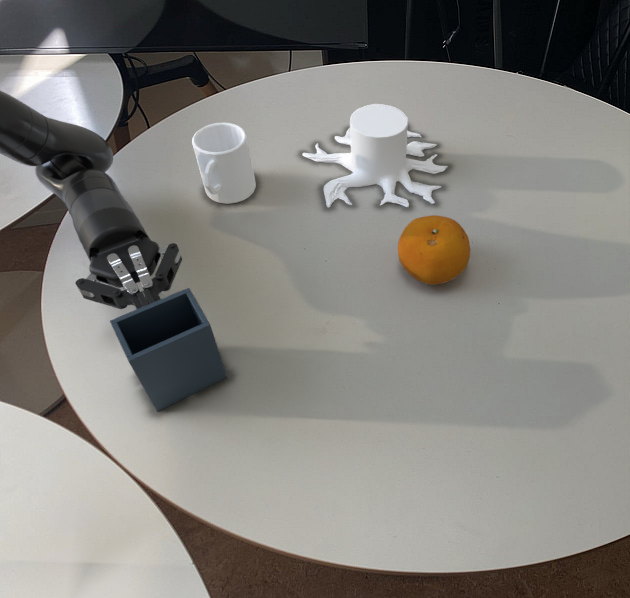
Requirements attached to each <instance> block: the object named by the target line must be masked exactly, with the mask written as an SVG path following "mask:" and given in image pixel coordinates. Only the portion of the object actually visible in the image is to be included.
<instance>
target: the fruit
mask: <svg viewBox="0 0 630 598" xmlns="http://www.w3.org/2000/svg"><path fill="white" fill-rule="evenodd" d="M397 255H398V259H399V262H400V264H401V266H402V267H403V269H404V270H405V271H406V273H408V274H409V276H411V278H413V279H415V280H417V281H418V282H420V283H423V284H426V285H434V286H435V285H442V284H444V283H447V282H451V281H452V280H453V279H455V278H457V277H459V276H460V275H461V274H462V273H463V272H464V271H465V269H466V268H467V266H468V264H469V261H470V257H471V243H470V238H469V236H468V234H467V232H466V231H465V229H464V227H462V225H461V224H460V223H459V222H458V221H457V220H455V219H453V218H450V217H447V216H443V215H437V214H435V215H434V214H433V215H424V216H420V217H416V218H415V219H413V220H411V221H410V222H409V223H408V224H407V225H406V226H405V227H404V228H403V231H402V232H401V234H400V237H399V239H398V244H397Z"/></svg>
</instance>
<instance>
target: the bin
mask: <svg viewBox="0 0 630 598" xmlns="http://www.w3.org/2000/svg"><path fill="white" fill-rule="evenodd" d="M109 323H110V325H111V327H112V330H113V331H114V334H115V336H116V337H117V340H118V342H119V344H120V347H121V348H122V351H123V353H124V354H125V358H126V359H127V362H128V363H129V365H130V367H131V369H132V371H133V372H134V374H135V376H136V377H137V380H138V381H139V383H140V384H141V386H142V388H143V389H144V392H145V393H146V395H147V397H148V398H149V400H150V402H151V404H152V406H153V407H154V409H155V412H157V413H159V412H160V411H162V410H164V409H166V408H168V407H170V406H172V405H174V404H176V403H178V402H180V401H182V400H184V399H186V398H189V397H190V396H193V395H195V394H197V393H200V392H201V391H203V390H205V389H207V388H209V387H211V386H213V385H215V384H217V383H220V382H221V381H223V380H226V379H227V378H228V376H227V372H226V369H225V367H224V363H223V360H222V357H221V353H220V350H219V347H218V345H217V341H216V338H215V335H214V332H213V329H212V325H211V324H210V321H209V320H208V318H207V316H206V315H205V312H204V311H203V309H202V308H201V306H200V304H199V302H198V301H197V299H196V297H195V295H194V294H193V292H192V290H191V287H186V288H185V289H182V290H180V291H176V292H175V293H173V294H170V295H168V296H165V297H163V298H161V300H158V301H156V302H153V303H151V304H149V305H146V306H144V307H141V308H139V309H134V310H132V311H130V312H127V313H125V314H122V315H120V316H118V317H115V318H113V319H111V320H109Z"/></svg>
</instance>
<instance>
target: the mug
mask: <svg viewBox="0 0 630 598" xmlns="http://www.w3.org/2000/svg"><path fill="white" fill-rule="evenodd" d="M247 136H248V135H247V132H246V131H245V129H244V128H243V127H241V126H239V125H238V124H234V123H231V122H214V123H210V124H207V125H205V126H203V127H201V128H200V129H199V130H197V131H196V132H195V133H194V135H193V136H192V138H191V144H192V147H193V151H194V156H195V158H196V162H197V167H198V169H199V173H200V176H201V180H202V181H201V182H202V184H203V188H204V192H205V194H206V195H207V197H208V198H209V199H210V200H212V201H213V202H216V203H219V204H227V205H228V204H229V205H230V204H237V203H240V202H243V201H245V200H246V199H249V198H250V197H251V196H252V195H253V194H254V192H255V190H256V187H257V184H256V183H257V181H256V178H255V177H256V176H255V172H254V167H253V161H252V157H251V156H252V155H251V151H250V146H249V140H248V137H247Z"/></svg>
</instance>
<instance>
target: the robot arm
mask: <svg viewBox="0 0 630 598" xmlns="http://www.w3.org/2000/svg"><path fill="white" fill-rule="evenodd" d="M0 155H2V156H4V157H6V158H8V159H10V160H12V161H14V162H16V163H18V164H20V165H23V166H28V167H35V168H34V172H35V175H36V178H37V180H38V181H39V183H40V184H41V185H43V187H44V188H46V189H47V190H48V191H50V192H51V193H53V194H54V195H55V196H56V197H57V198H58V199H60V200H61V202H62V203H63V204H64V205H65V208H66V209H67V212H68V213H69V216H70V218H71V220H72V224H73V228H74V231H75V233H76V235H77V238H78V240H79V242H80V244H81V246H82V248H83V249H84V252H85V254H86V257H87V258H88V260H89V262H90V264H89V267H88V270H89V275H88V276H87V277H86V278H84V277H81V278H78V279H77V280H75V286H76V287H77V289H78V291H79V292H80V294H81V296H82V298H83V299H84V300H88V301H91V302H95V303H97V304H101V305H105V306H107V307H112V308H115V309H118V310H124V309H126V308H127V307H128V306H134V308H136V309H135V310H137V309H139V308H141V307H144V306H146V305H149V304H151V303H153V302H156V301H158V300H161V299H162V298H161V297H160V294H161V293H162V292H168V291H169V290H170V289H171V287H172V286H173V283H174V280H175V278H176V275H177V273H178V271H179V268H180V266H181V264H182V261H183V257H182V254H181V251H180V248H179V246H178V244H177V243H176V242H175V243H173V242H172V243H170V244H168V245H167V246H166V247H165V246H159V244H158V242H156V241H154V240H152V239H150V236H149V235H148V233H147V231H146V229H145V228H144V226H143V225H142V223H141V221H140V218H138V216H137V214H136V212H135V211H134V209H133V208H132V206H131V205H130V203H129V202H128V201H127V200H126V199H125V197H124V196H123V193H122V192H121V190H120V188H119V187H118V185H117V183H116V182H115V181H114V179H113V178H112V177H111V176H110V175H109V174H108V173H106V172H107V171H109V170H110V168H111V167H112V166H113V162H114V152H113V150H112V147H111V145H110V144H109V143H108V141H106V139H104V138H103V137H102V136H101V135H100V134H98V133H97V132H95V131H93V130H90V129H89V128H87V127H84V126H80V125H77V124H74V123H69V122H66V121H62V120H58V119H55V118H52V117H48V116H45V115H44V114H42V113H41V112H39V111H38V110H35V109H34V108H33V107H31V106H29V105H27V104H26V103H25V102H23V101H21V100H19V99H18V98H16V97H14V96H12V95H10V94H9V93H7V92H5V91H3V90H0ZM160 259H161V260H160ZM153 275H154V277H152V276H153ZM138 283H141V286H142V290H140V288H139V286H138V285H137V284H138ZM122 289H123V290H122Z"/></svg>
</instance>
